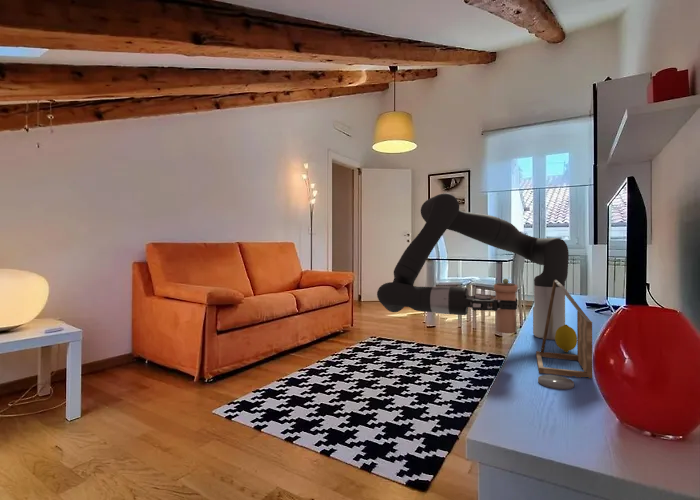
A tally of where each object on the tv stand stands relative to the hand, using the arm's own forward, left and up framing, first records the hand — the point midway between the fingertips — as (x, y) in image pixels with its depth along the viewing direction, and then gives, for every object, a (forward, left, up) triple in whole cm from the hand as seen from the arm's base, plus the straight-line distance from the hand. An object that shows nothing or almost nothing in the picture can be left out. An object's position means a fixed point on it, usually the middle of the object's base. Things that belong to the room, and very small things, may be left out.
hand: (516, 303), depth 98 cm
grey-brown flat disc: (+13, +1, -16) cm, 21 cm away
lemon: (-10, +20, -16) cm, 28 cm away
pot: (-1, -2, -7) cm, 8 cm away
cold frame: (+2, +11, -16) cm, 19 cm away
